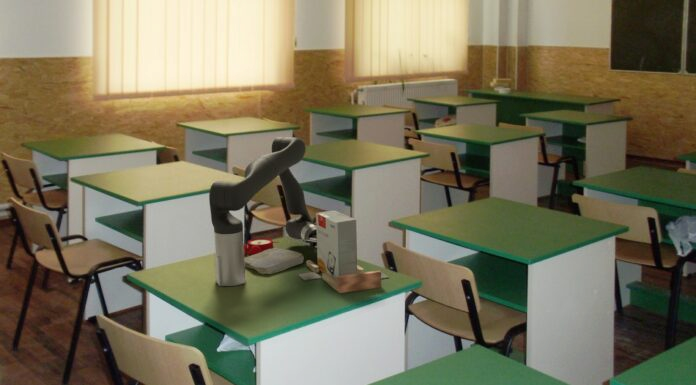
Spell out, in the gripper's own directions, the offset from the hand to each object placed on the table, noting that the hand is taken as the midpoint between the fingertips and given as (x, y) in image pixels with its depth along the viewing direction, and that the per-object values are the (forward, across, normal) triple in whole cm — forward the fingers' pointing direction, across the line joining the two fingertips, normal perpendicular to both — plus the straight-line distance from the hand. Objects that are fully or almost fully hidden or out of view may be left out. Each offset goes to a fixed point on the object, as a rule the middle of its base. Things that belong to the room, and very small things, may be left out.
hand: (330, 247), depth 280 cm
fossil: (-13, -18, +8) cm, 23 cm away
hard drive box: (+8, -1, +7) cm, 11 cm away
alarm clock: (-30, -18, +8) cm, 36 cm away
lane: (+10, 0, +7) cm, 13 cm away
